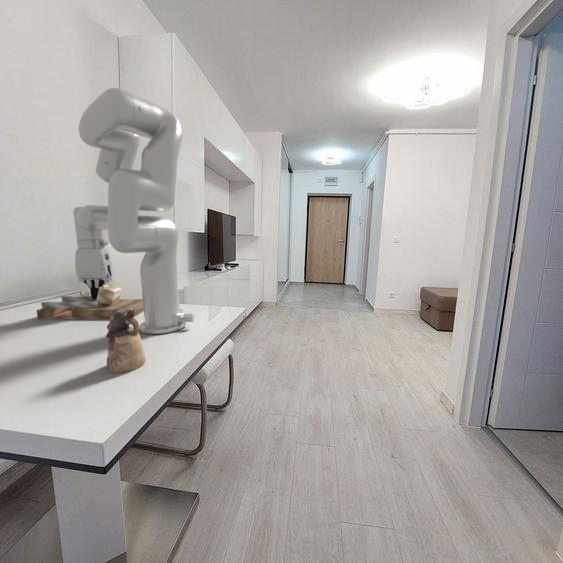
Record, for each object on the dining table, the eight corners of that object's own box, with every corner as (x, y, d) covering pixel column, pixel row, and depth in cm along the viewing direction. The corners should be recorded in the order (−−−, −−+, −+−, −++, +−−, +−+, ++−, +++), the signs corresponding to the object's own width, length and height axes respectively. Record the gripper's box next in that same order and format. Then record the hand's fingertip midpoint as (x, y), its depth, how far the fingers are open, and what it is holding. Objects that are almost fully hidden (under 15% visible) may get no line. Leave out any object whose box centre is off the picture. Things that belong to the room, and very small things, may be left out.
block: (118, 302, 101) (121, 288, 101) (111, 305, 96) (114, 291, 96) (104, 297, 101) (107, 284, 100) (96, 301, 96) (99, 287, 95)
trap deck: (150, 307, 106) (149, 293, 105) (131, 318, 92) (129, 303, 91) (69, 307, 106) (67, 294, 105) (37, 319, 92) (35, 304, 91)
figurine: (122, 357, 64) (116, 304, 61) (152, 358, 63) (148, 305, 61) (99, 372, 57) (91, 314, 54) (132, 374, 56) (126, 315, 54)
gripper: (119, 244, 99) (124, 296, 102) (76, 244, 98) (82, 296, 102) (107, 246, 91) (112, 301, 95) (60, 245, 91) (67, 301, 94)
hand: (97, 298), depth 98 cm, fingers closed
